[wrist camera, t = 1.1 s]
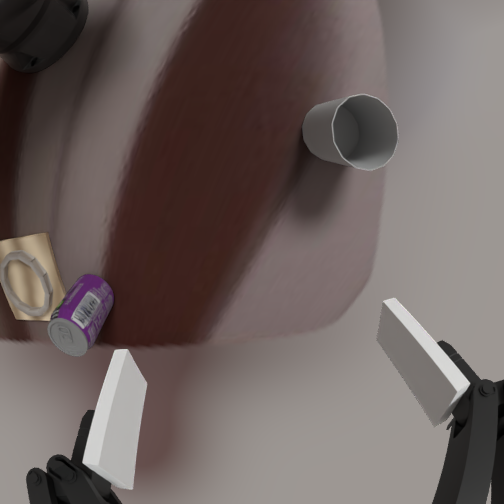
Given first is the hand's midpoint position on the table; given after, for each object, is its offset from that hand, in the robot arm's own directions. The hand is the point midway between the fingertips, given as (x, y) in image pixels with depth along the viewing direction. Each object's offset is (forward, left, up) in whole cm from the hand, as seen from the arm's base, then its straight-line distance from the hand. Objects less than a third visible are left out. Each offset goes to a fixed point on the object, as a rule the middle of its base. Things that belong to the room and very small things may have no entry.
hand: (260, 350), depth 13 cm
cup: (+3, +17, -26) cm, 32 cm away
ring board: (-20, -32, -26) cm, 46 cm away
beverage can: (-8, -24, -26) cm, 36 cm away
